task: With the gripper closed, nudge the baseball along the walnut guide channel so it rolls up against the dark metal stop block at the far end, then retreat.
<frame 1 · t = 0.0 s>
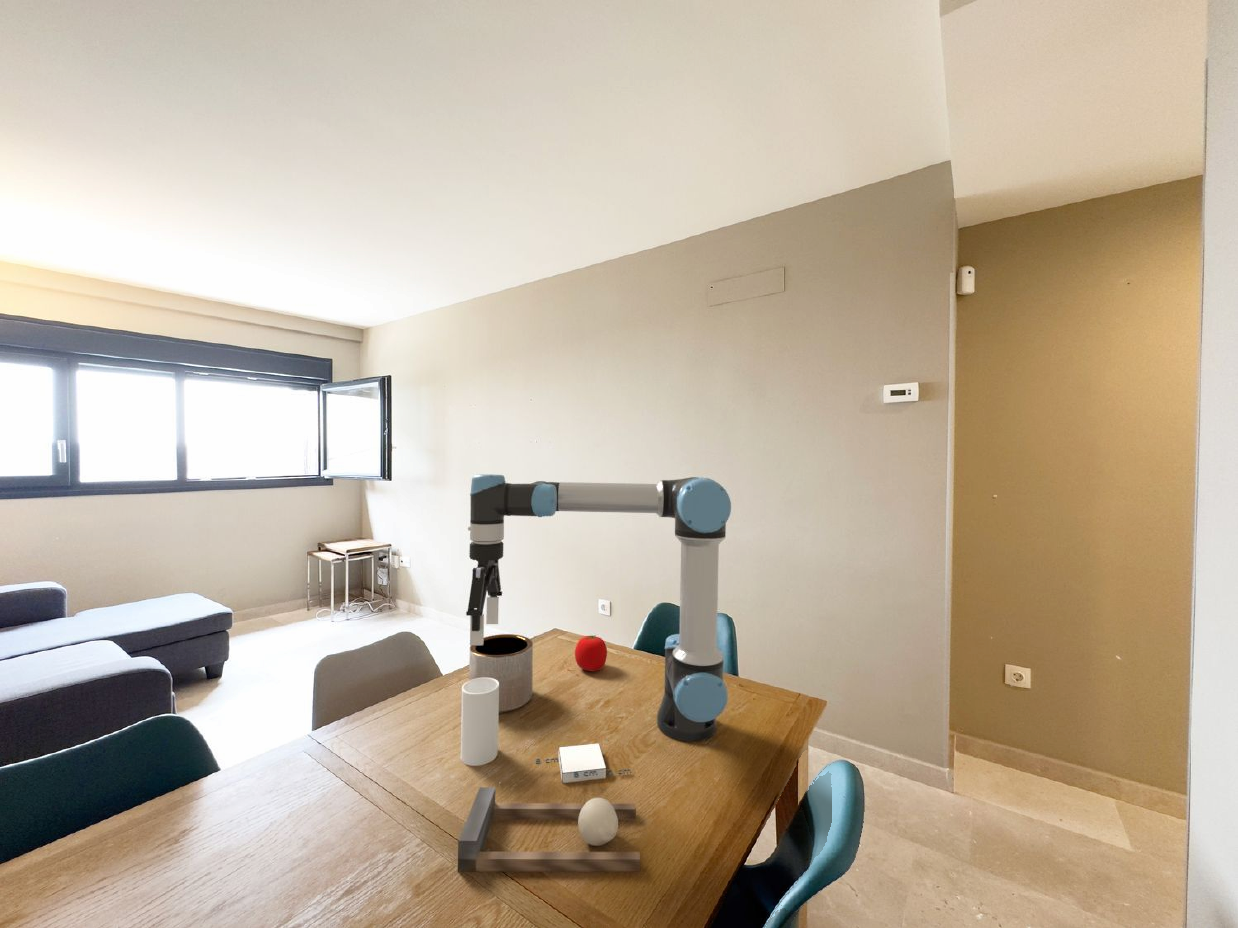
hand: (484, 633, 109), 28 cm above the table, fingers open, 13 cm apart
cup: (479, 755, 110), on the table
planter: (500, 700, 136), on the table
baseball: (598, 841, 85), resting in channel
tomato: (591, 669, 157), on the table
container: (582, 771, 105), on the table
channel: (553, 840, 85), on the table
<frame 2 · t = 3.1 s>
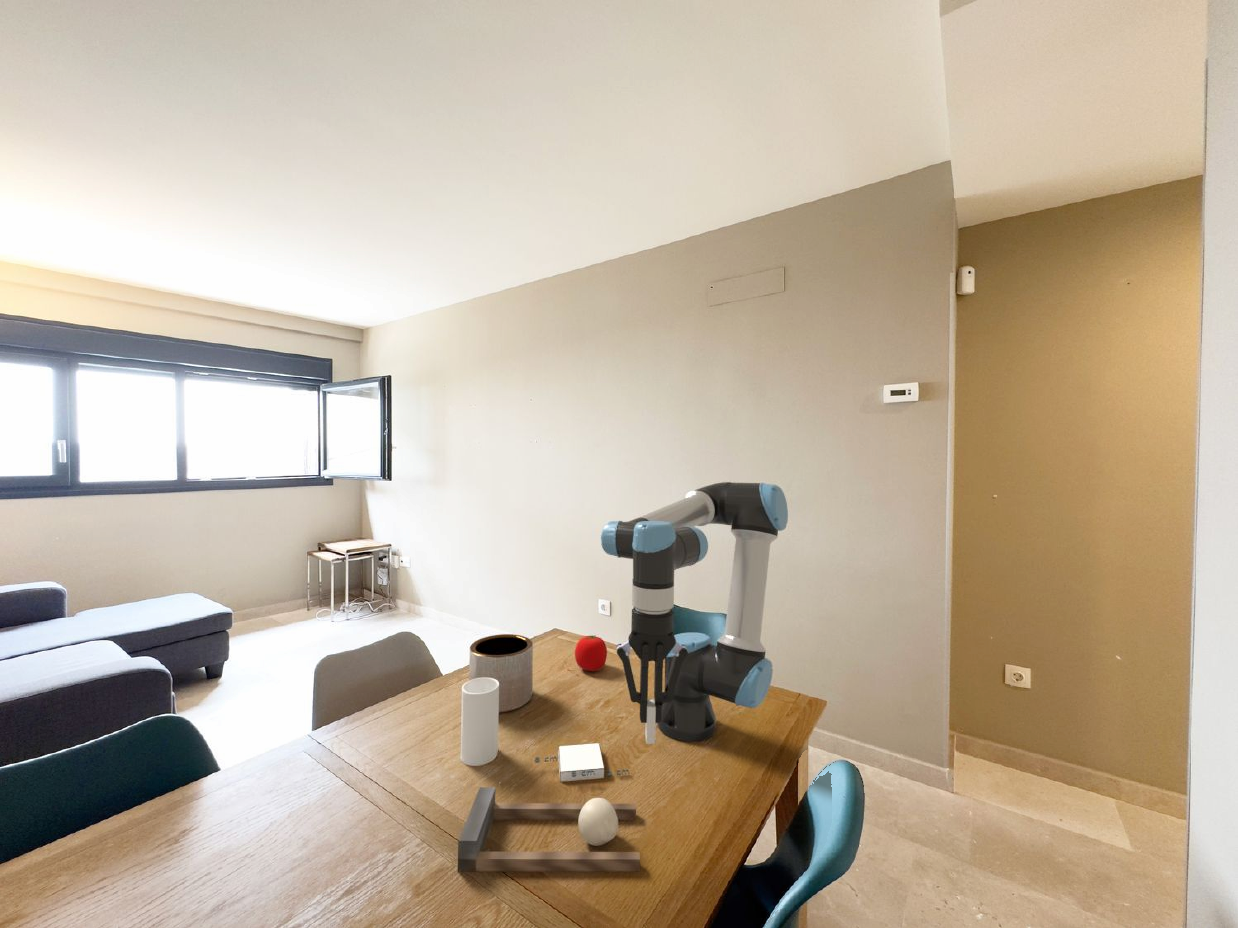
hand: (650, 739, 85), 18 cm above the table, fingers closed
nothing on the table moved.
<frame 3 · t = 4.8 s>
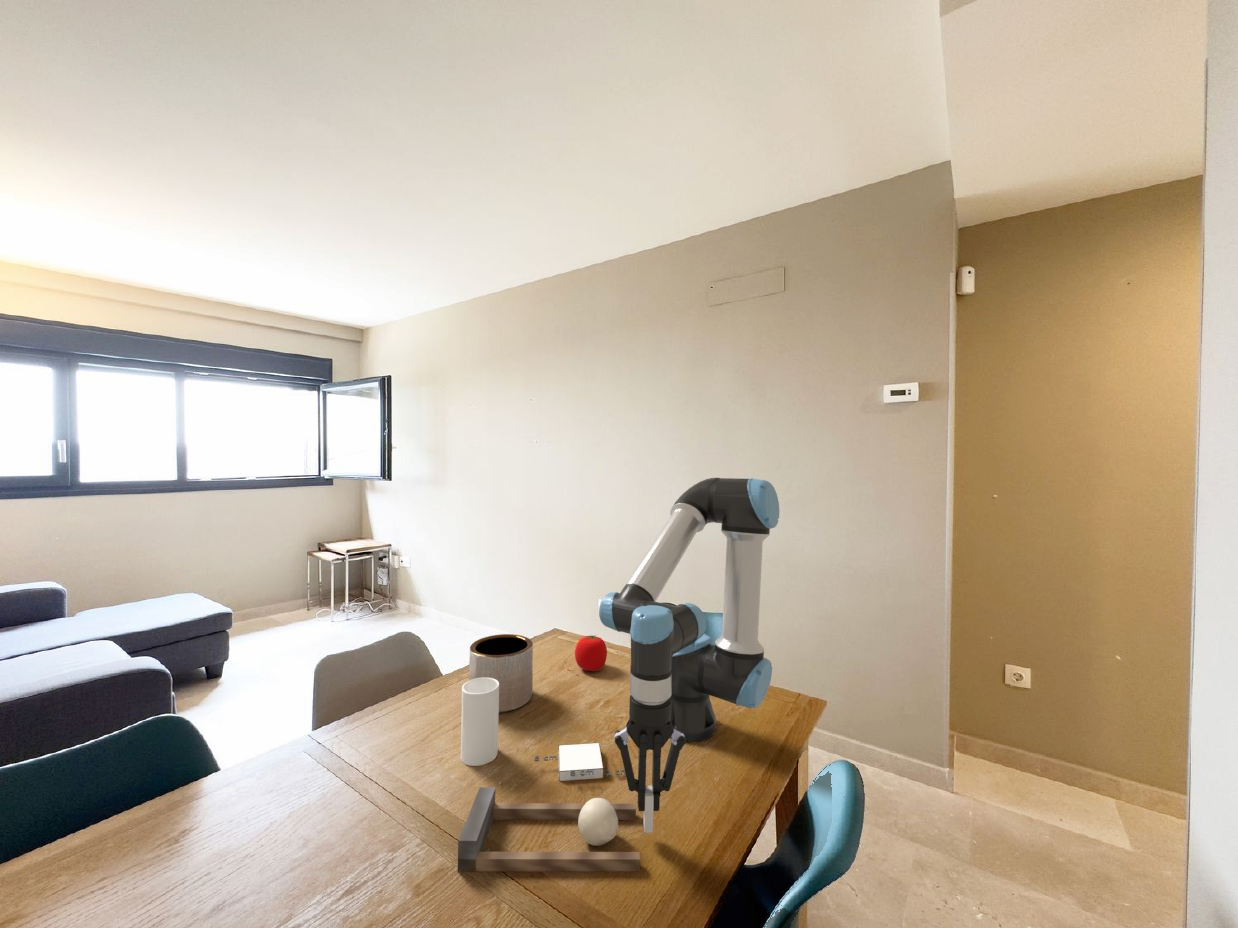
hand: (648, 826, 85), 2 cm above the table, fingers closed
nothing on the table moved.
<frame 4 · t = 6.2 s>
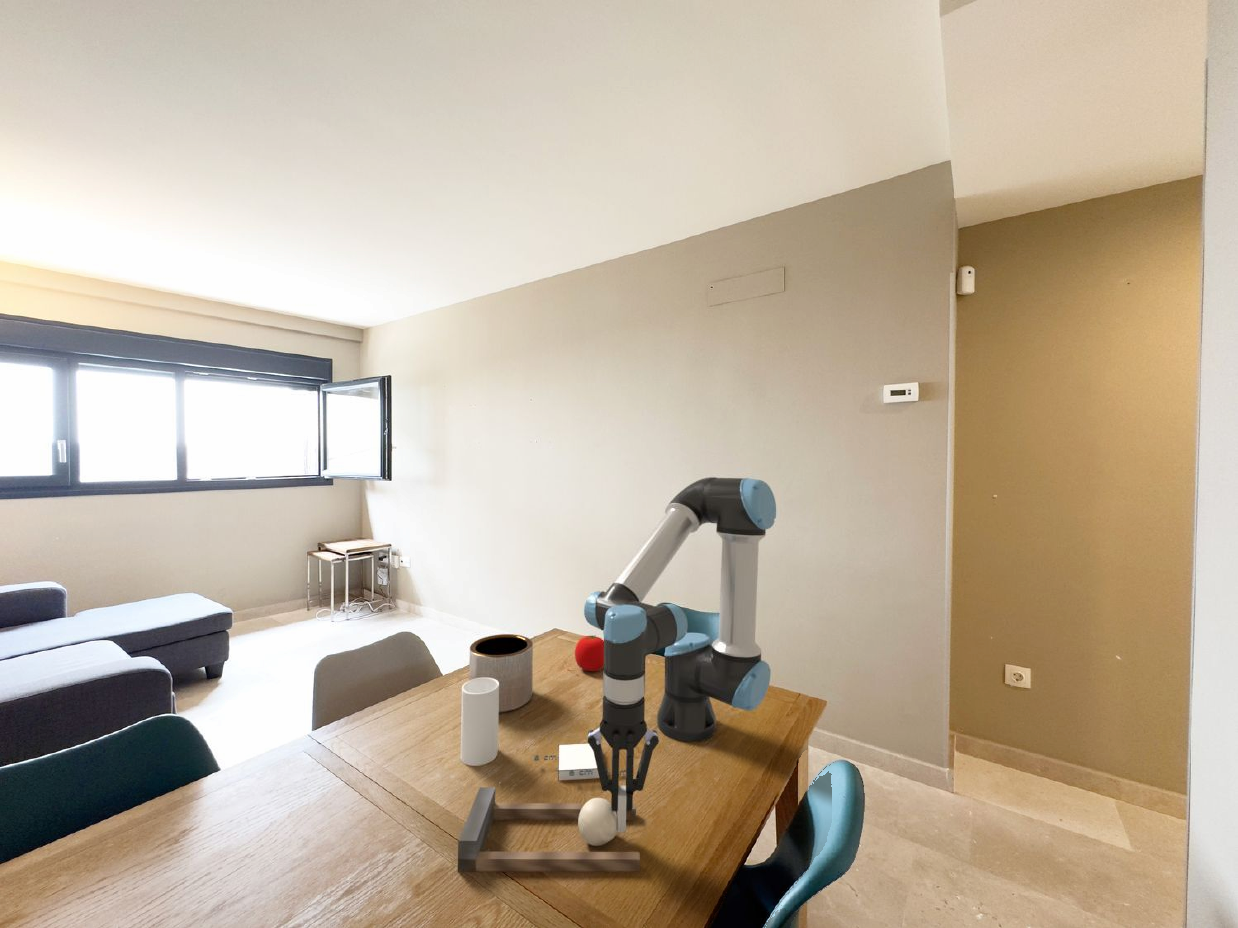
hand: (621, 826, 85), 2 cm above the table, fingers closed
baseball: (598, 841, 85), resting in channel, touching gripper
everything else where it was.
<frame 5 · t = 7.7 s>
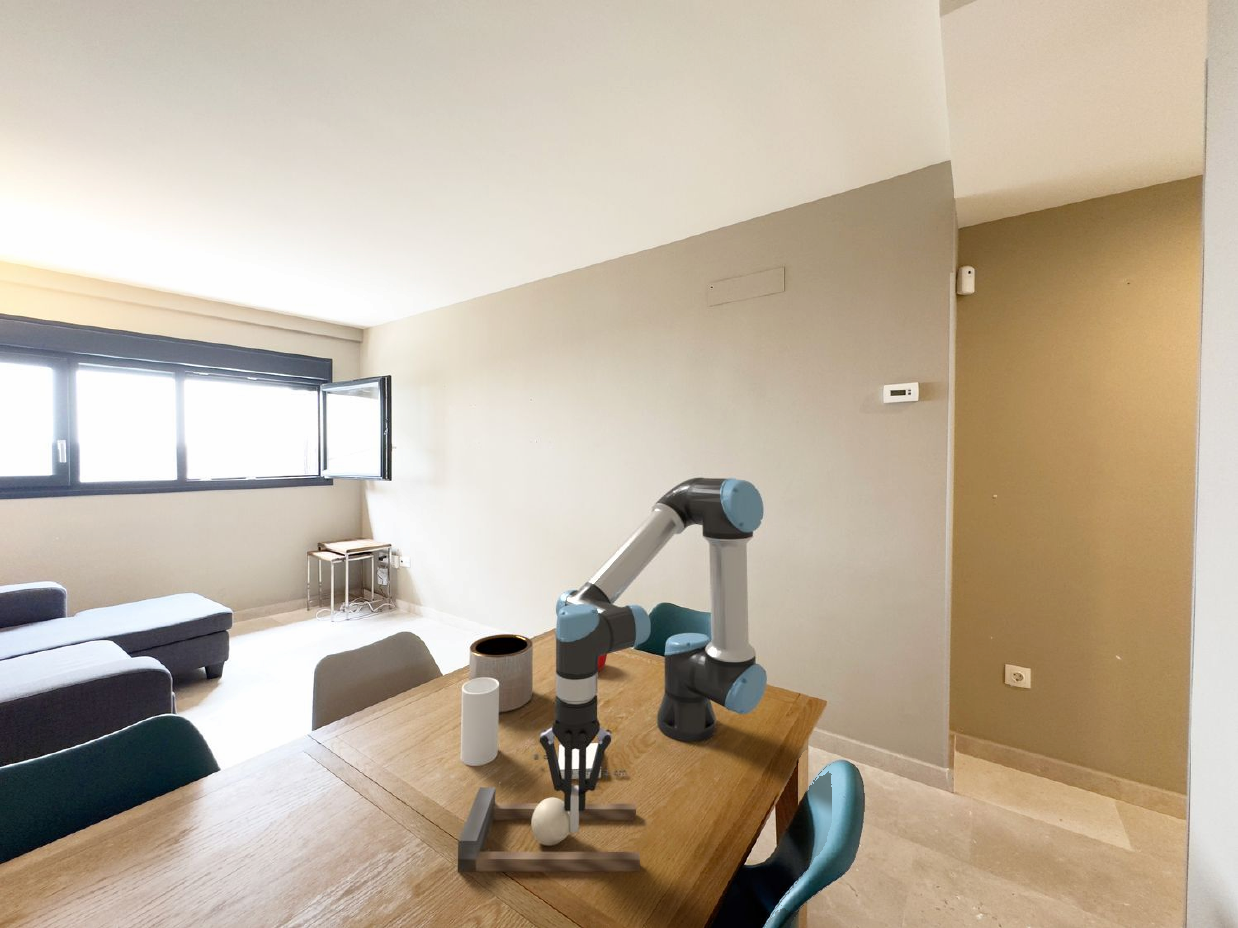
hand: (574, 826, 85), 3 cm above the table, fingers closed
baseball: (552, 841, 85), resting in channel, touching gripper
everything else where it was.
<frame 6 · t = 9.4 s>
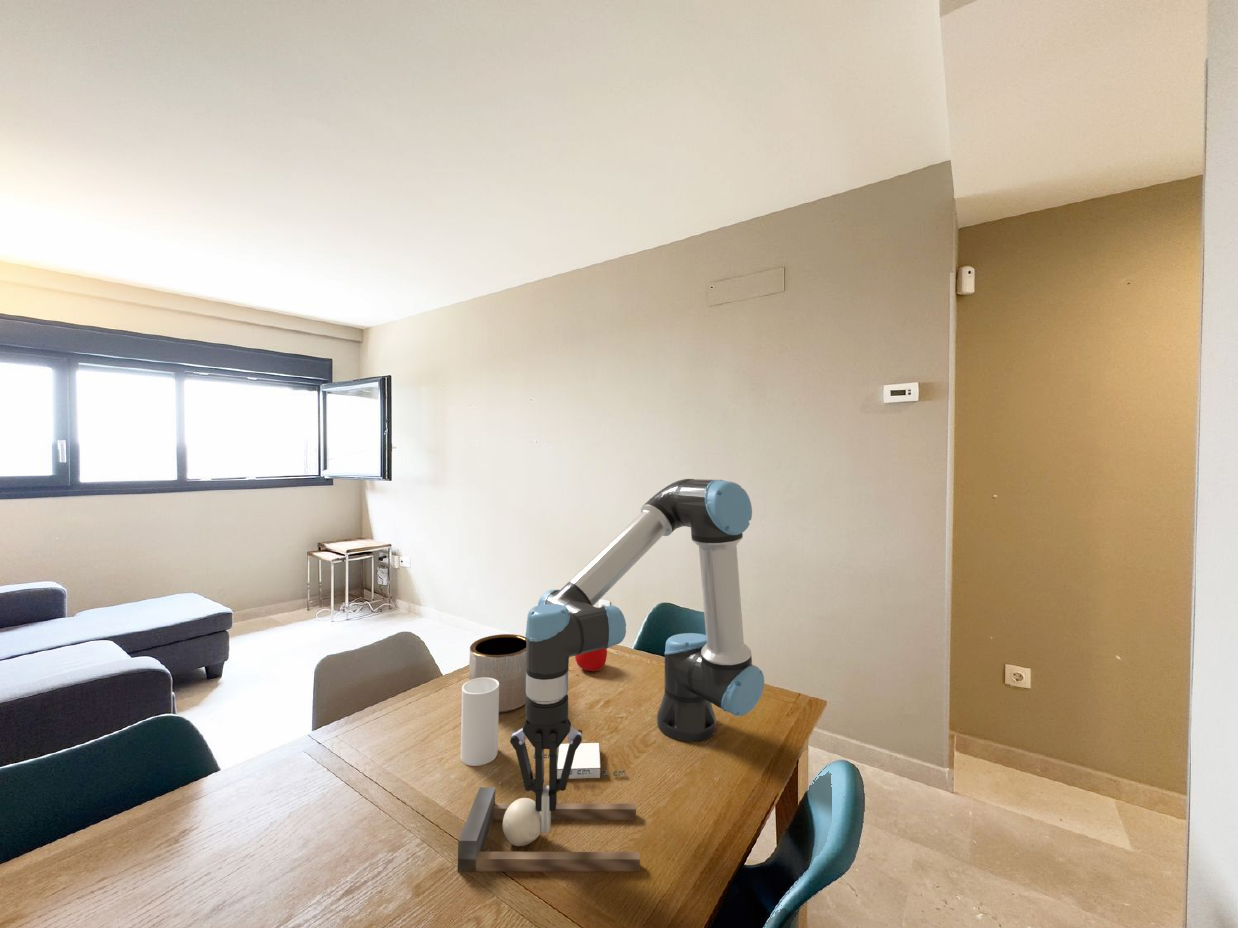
hand: (545, 827, 85), 3 cm above the table, fingers closed
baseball: (523, 841, 85), resting in channel, touching gripper
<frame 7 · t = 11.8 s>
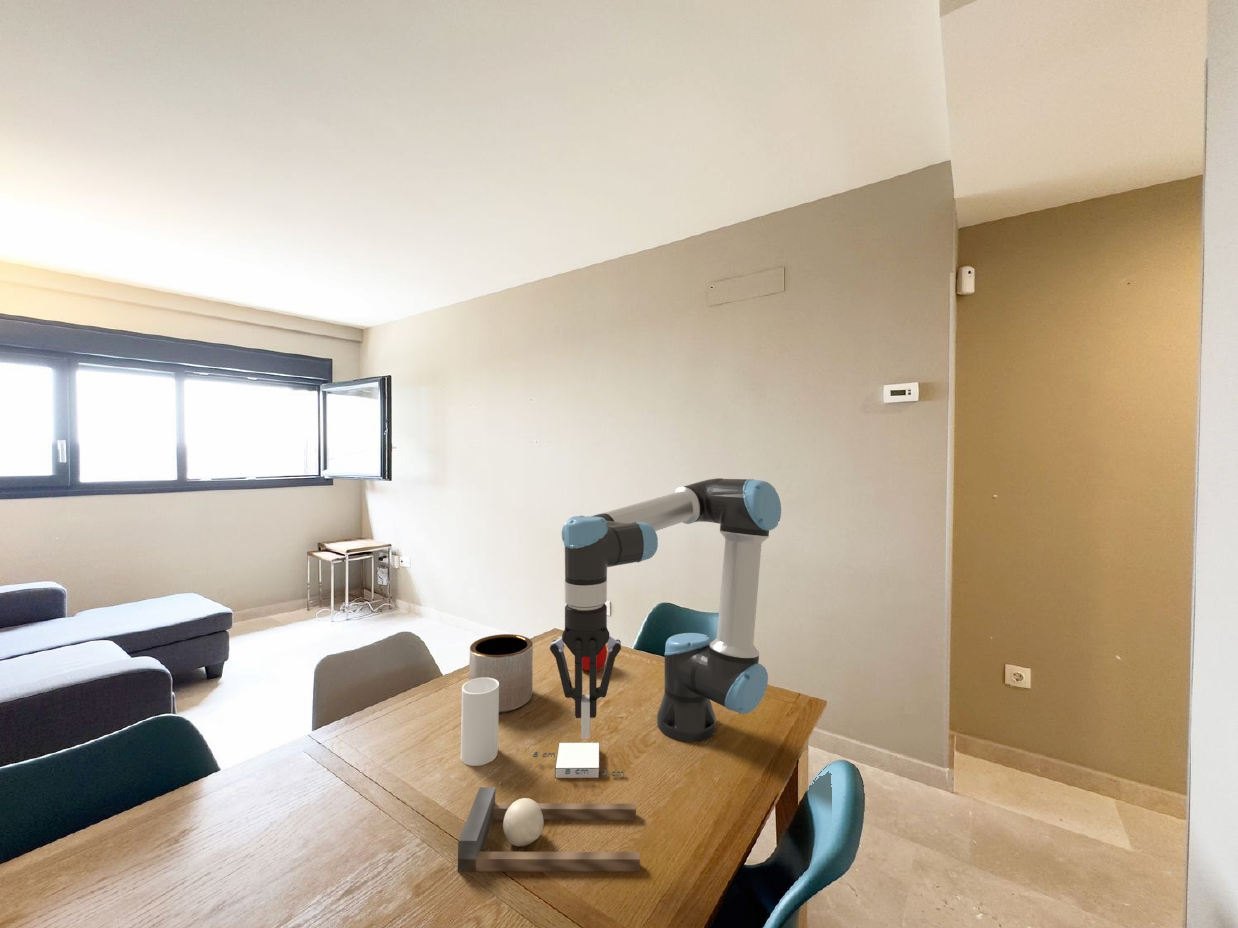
hand: (585, 734, 86), 19 cm above the table, fingers closed
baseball: (523, 842, 85), resting in channel
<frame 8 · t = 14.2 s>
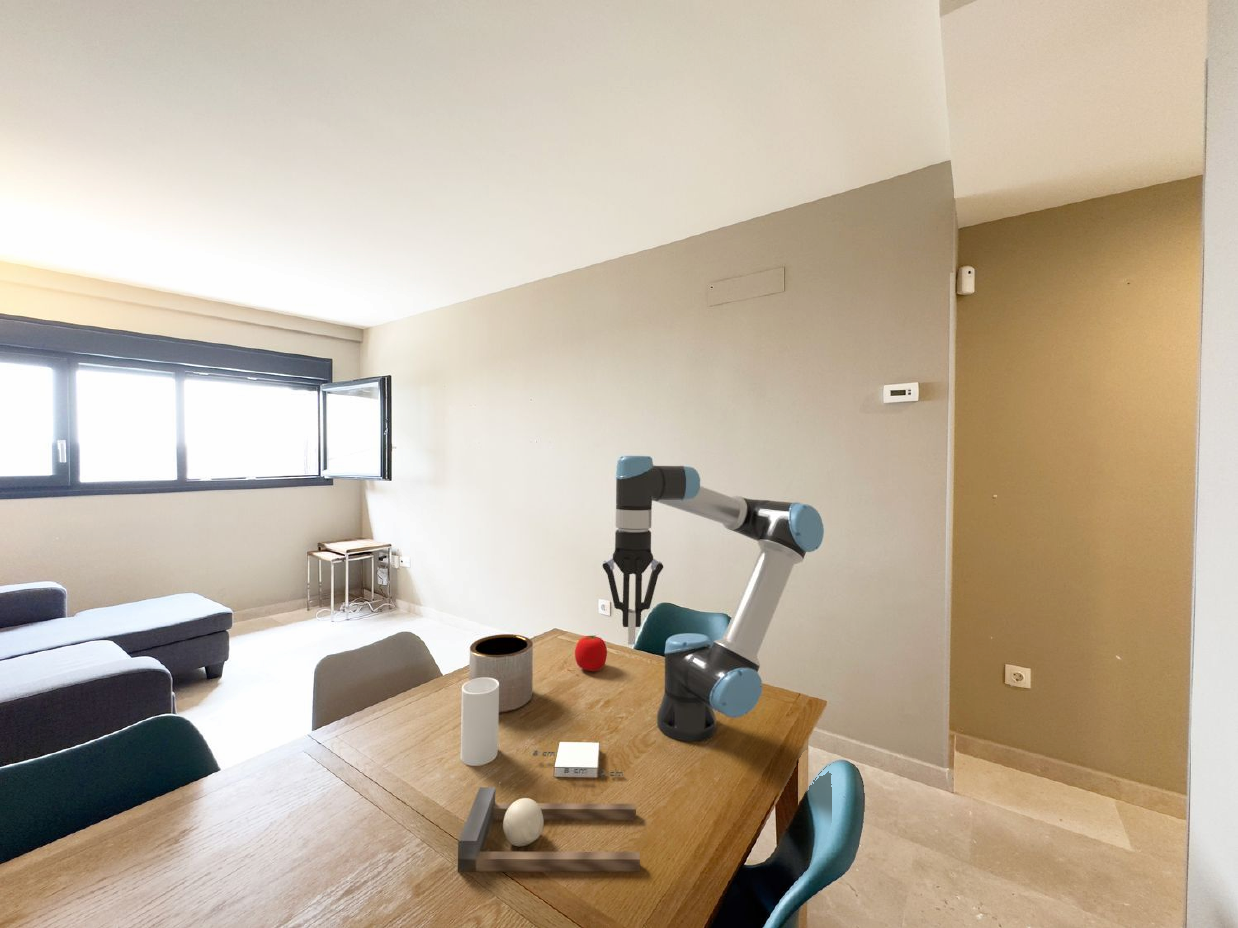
hand: (631, 641, 99), 30 cm above the table, fingers closed
at the end: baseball inside the target area (2.5 cm from its centre), resting in channel; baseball moved 13.3 cm from its start; the gripper is holding nothing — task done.
